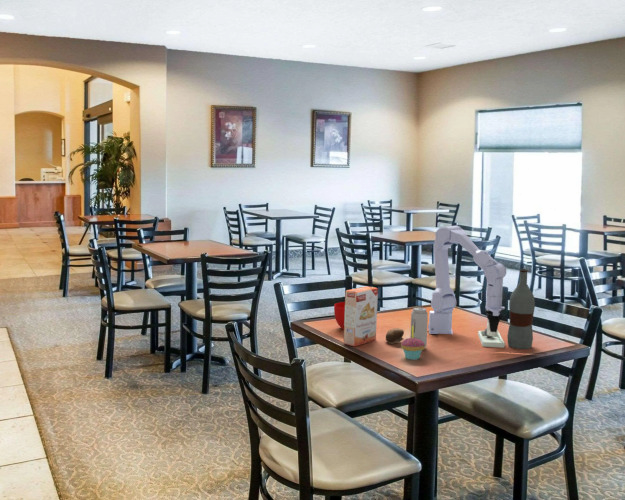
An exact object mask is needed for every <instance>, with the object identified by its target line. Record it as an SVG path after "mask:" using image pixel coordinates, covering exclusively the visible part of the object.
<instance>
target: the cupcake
mask: <svg viewBox="0 0 625 500" xmlns="http://www.w3.org/2000/svg"><path fill="white" fill-rule="evenodd" d="M400 347H401V349H402V350H403V353H404V356H405V358H406V359H408V360H413V361H414V360H415V361H416V360H419V359H420V356H421V353H422V351H425V349H426V347H425V343H424V342H423V341H422V340H420V339H417V338H414V326H413V323H412V338H410V337H407V338H404V339H403V340H402V341H401V344H400Z"/></svg>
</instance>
